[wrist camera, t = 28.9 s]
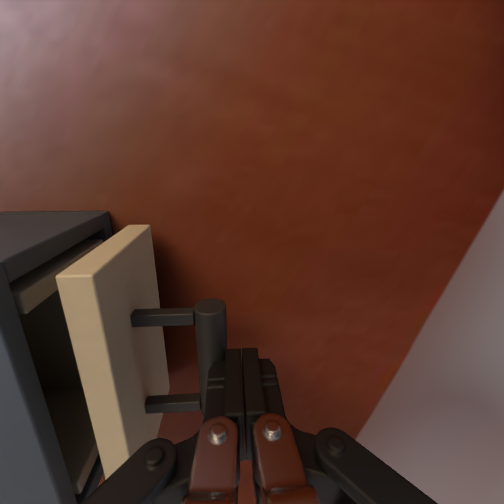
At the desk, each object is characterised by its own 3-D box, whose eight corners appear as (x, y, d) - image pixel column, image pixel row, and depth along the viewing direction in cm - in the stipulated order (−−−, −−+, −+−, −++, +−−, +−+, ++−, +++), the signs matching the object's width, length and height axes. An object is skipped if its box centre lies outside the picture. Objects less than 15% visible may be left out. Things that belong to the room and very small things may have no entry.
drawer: (226, 223, 16) (222, 272, 9) (230, 385, 19) (229, 499, 13) (-117, 227, 15) (-391, 286, 8) (-42, 398, 18) (-188, 530, 12)
